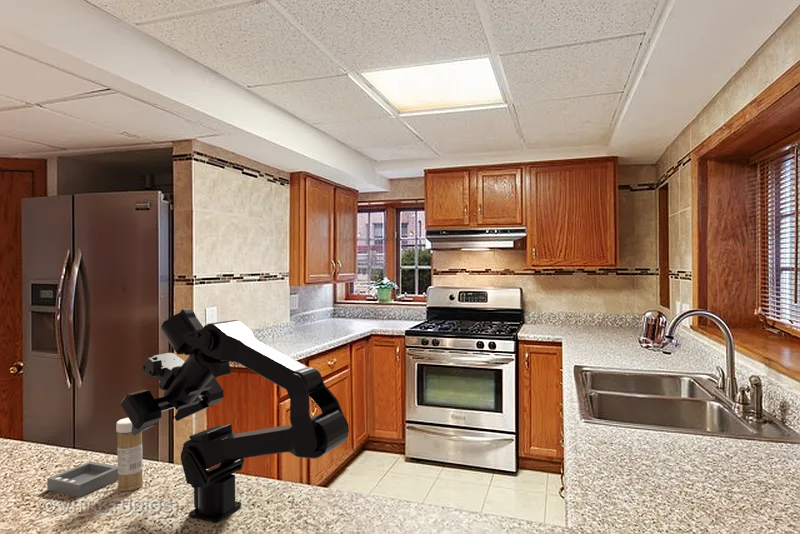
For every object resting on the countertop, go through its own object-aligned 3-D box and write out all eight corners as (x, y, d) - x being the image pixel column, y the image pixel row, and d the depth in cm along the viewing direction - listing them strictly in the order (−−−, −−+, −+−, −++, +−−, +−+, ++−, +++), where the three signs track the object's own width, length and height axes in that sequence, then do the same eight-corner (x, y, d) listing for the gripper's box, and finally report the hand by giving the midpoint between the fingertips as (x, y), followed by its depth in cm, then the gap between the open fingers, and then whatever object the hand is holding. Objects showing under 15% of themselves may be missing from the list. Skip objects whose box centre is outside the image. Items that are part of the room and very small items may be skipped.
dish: (121, 478, 101) (121, 465, 101) (79, 497, 93) (79, 484, 93) (90, 471, 104) (90, 460, 104) (47, 490, 96) (47, 477, 96)
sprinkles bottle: (140, 480, 100) (139, 414, 100) (145, 487, 97) (144, 419, 97) (115, 486, 97) (114, 419, 97) (119, 494, 94) (118, 424, 94)
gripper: (212, 333, 100) (176, 382, 105) (127, 348, 83) (87, 405, 88) (242, 375, 96) (202, 424, 101) (159, 399, 79) (116, 456, 84)
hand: (155, 425), depth 94 cm, fingers open, 9 cm apart
